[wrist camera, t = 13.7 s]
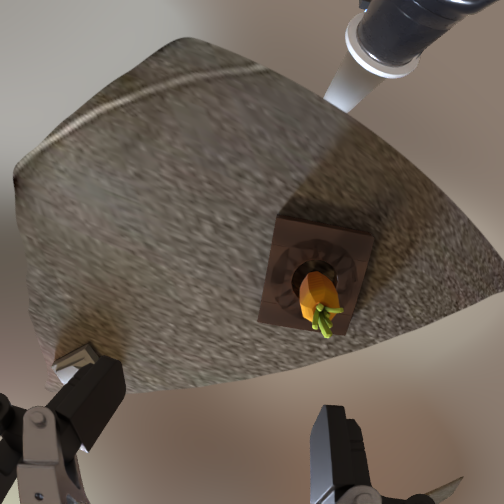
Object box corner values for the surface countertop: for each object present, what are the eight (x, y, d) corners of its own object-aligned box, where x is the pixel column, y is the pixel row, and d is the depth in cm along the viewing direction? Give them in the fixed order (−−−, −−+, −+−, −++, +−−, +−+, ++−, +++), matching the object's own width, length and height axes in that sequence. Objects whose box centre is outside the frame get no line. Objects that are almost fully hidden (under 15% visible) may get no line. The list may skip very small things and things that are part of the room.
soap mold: (115, 378, 54) (109, 387, 51) (76, 390, 59) (70, 397, 56) (88, 343, 52) (80, 351, 49) (53, 361, 57) (46, 367, 54)
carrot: (300, 256, 41) (306, 301, 27) (332, 262, 41) (353, 308, 27) (294, 287, 43) (296, 342, 29) (325, 292, 43) (340, 347, 28)
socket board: (276, 214, 40) (276, 217, 37) (369, 232, 39) (375, 237, 36) (258, 312, 45) (257, 321, 42) (342, 326, 44) (345, 335, 41)
